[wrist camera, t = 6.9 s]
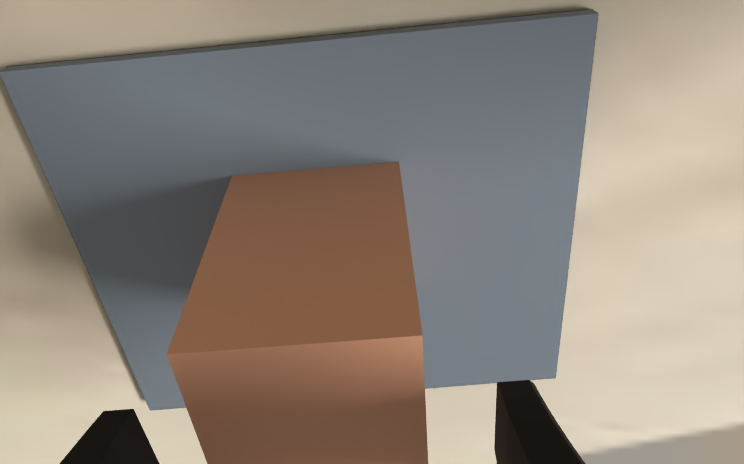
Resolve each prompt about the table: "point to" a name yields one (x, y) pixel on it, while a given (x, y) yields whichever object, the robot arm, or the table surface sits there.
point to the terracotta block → (306, 323)
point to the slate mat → (332, 149)
